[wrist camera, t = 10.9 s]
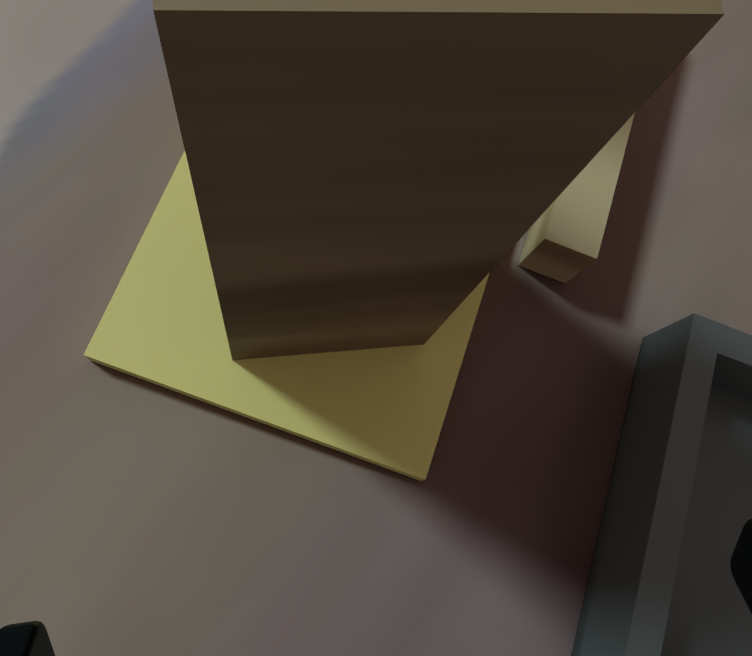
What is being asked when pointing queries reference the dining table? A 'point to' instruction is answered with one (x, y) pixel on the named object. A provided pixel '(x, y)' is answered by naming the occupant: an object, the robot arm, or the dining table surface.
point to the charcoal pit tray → (676, 503)
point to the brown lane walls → (577, 216)
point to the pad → (274, 374)
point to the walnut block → (393, 145)
